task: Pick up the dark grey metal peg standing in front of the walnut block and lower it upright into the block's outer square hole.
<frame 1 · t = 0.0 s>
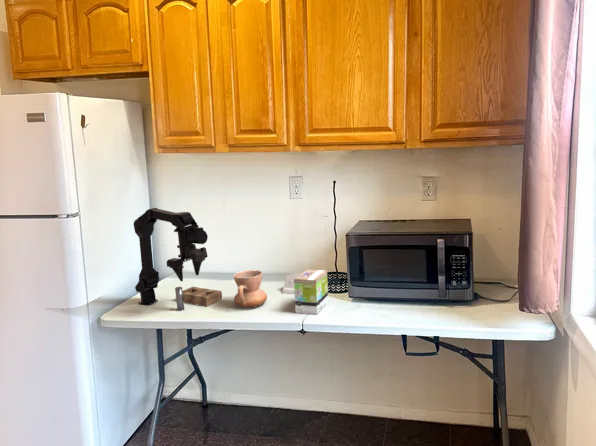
hand: (189, 278, 231), 15 cm above the table, tool pointing down, fingers open, 9 cm apart
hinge: (301, 292, 250), on the table
hole block: (200, 300, 248), on the table
tea box: (312, 308, 228), on the table
peg: (180, 309, 237), on the table
ceramic jug: (250, 305, 237), on the table
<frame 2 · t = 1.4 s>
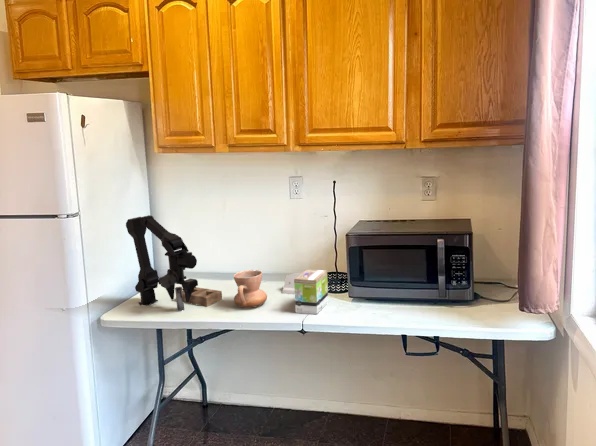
hand: (179, 300, 236), 4 cm above the table, tool pointing down, fingers open, 9 cm apart
nothing on the table moved.
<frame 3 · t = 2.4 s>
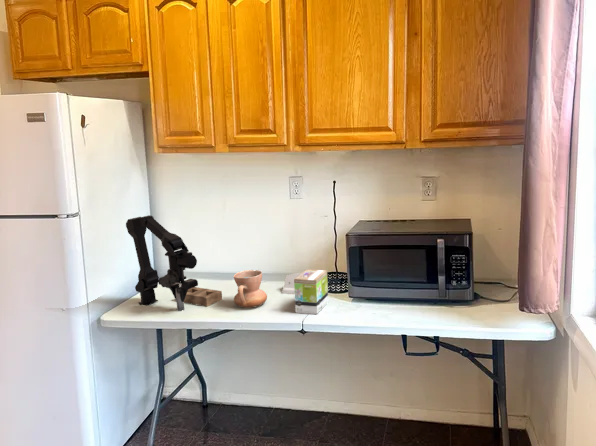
hand: (180, 300, 236), 4 cm above the table, tool pointing down, fingers closed on peg, 3 cm apart
peg: (181, 309, 237), on the table, touching gripper
everything else where it was.
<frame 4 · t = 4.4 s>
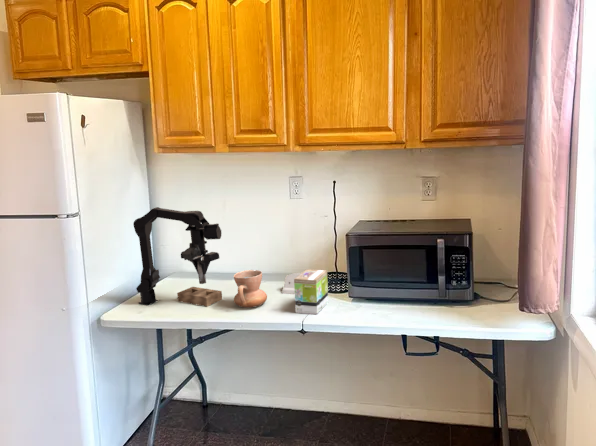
hand: (201, 274, 241), 13 cm above the table, tool pointing down, fingers closed on peg, 3 cm apart
peg: (202, 282, 242), point 9 cm above the table, touching gripper
everything else where it was.
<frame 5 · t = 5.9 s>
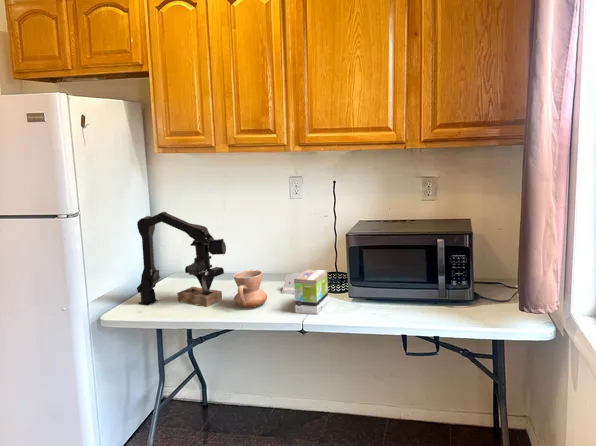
hand: (206, 288, 244), 6 cm above the table, tool pointing down, fingers closed on peg, 3 cm apart
peg: (206, 297, 245), point 2 cm above the table, touching gripper
everything else where it was.
when the fingers open (5 cm above the table, at t = 6.6 s): peg drops 1 cm, resting in hole block.
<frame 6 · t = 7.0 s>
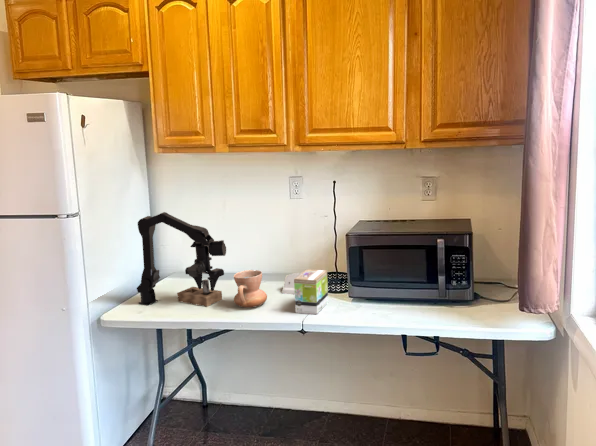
hand: (206, 289, 244), 5 cm above the table, tool pointing down, fingers open, 7 cm apart
peg: (207, 301, 245), resting in hole block
everything else where it was.
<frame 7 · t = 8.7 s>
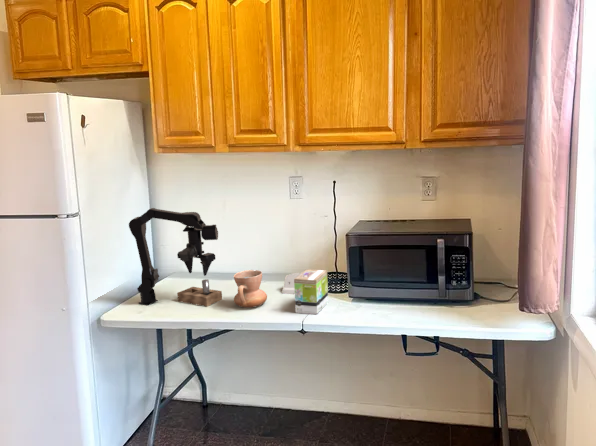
hand: (197, 274, 246), 12 cm above the table, tool pointing down, fingers open, 9 cm apart
nothing on the table moved.
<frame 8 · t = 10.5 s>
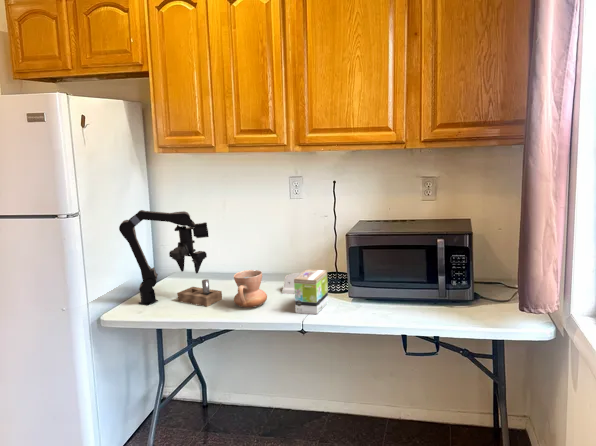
hand: (189, 272, 251), 12 cm above the table, tool pointing down, fingers open, 9 cm apart
nothing on the table moved.
at the end: peg 0.1 cm from the target spot on the hole block, point 0.0 cm above the hole block's base; peg tilted 0°; the gripper is holding nothing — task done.
